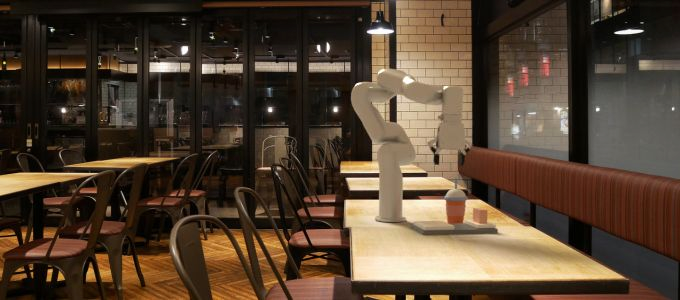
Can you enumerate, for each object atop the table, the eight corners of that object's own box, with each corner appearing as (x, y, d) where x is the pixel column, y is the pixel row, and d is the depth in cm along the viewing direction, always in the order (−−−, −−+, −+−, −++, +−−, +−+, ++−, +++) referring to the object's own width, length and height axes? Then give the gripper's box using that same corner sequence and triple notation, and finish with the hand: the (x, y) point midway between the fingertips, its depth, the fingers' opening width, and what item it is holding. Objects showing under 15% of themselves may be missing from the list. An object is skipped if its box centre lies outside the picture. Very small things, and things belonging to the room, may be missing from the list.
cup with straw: (439, 222, 244) (440, 177, 243) (457, 220, 248) (458, 177, 247) (452, 225, 236) (453, 179, 235) (471, 224, 240) (472, 178, 239)
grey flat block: (410, 228, 227) (410, 221, 227) (480, 226, 233) (480, 219, 233) (423, 234, 213) (423, 227, 213) (497, 233, 218) (497, 225, 218)
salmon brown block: (464, 223, 230) (464, 207, 230) (481, 223, 231) (482, 206, 231) (477, 228, 218) (477, 211, 218) (495, 227, 219) (496, 210, 219)
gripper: (433, 118, 220) (430, 165, 221) (477, 120, 223) (474, 166, 224) (425, 118, 227) (423, 163, 228) (468, 120, 231) (466, 164, 232)
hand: (448, 165), depth 226 cm, fingers open, 9 cm apart
